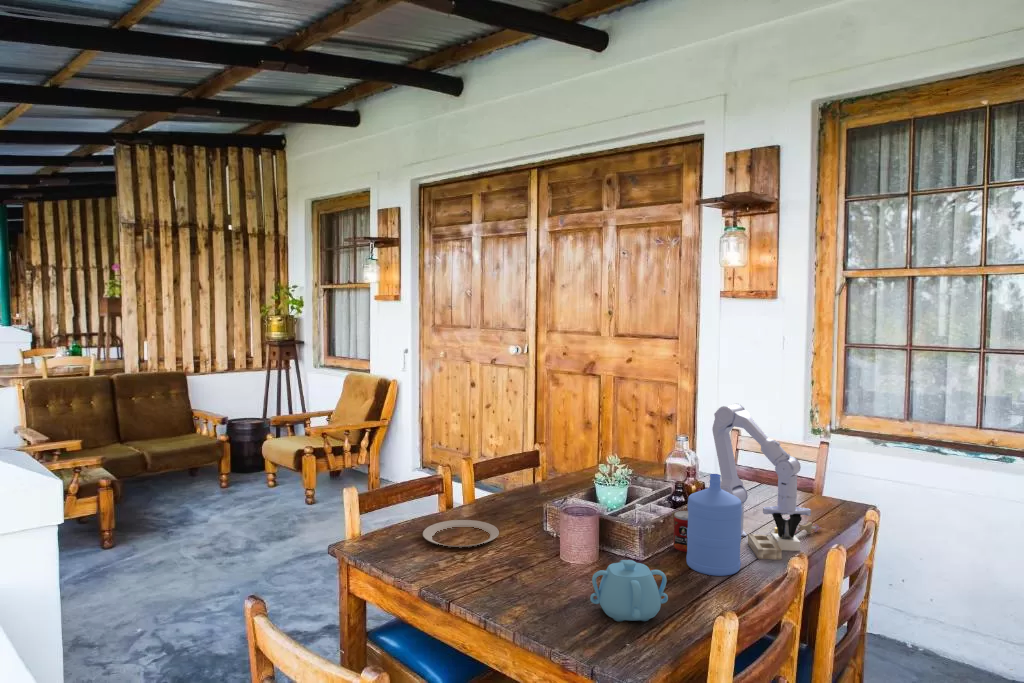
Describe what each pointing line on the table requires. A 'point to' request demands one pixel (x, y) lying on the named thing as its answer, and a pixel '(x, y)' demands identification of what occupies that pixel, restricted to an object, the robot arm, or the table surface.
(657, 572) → the decorative pot
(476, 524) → the plate
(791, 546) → the socket block
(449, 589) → the table surface
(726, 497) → the water jug
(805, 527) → the decorative key
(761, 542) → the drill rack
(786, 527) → the drill bit
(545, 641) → the table surface
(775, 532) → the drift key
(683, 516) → the canned food
